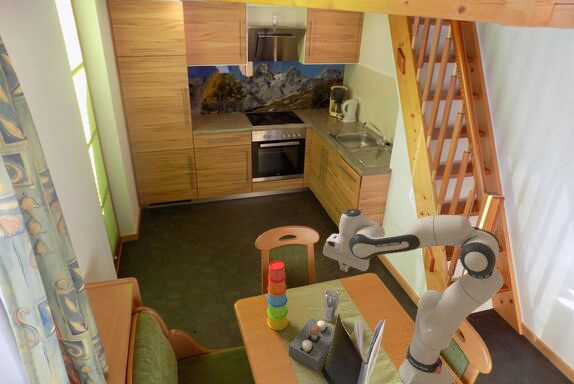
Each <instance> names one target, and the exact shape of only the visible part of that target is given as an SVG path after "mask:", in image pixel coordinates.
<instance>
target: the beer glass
mask: <svg viewBox="0 0 574 384" xmlns="http://www.w3.org/2000/svg"><path fill="white" fill-rule="evenodd" d="M324 293H325V295H324V298H323V300H324V301H323V303H324V304H323V306H324V312H323V315H322V318H323V319H324V321H326V322H328V323H331V322H332V321H333V322H334V321H335V320H336V312H337V309H338V306H339V303H340V293H339V291H337V290H336V289H328V290H326V291H325V292H324Z"/></svg>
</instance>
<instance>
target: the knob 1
mask: <svg viewBox="0 0 574 384" xmlns="http://www.w3.org/2000/svg"><path fill="white" fill-rule="evenodd" d="M302 348H303V352H305V353H307V354H310V350H311V348H312V342H311V341H310V340H304V341H303V344H302Z"/></svg>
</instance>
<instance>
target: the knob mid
mask: <svg viewBox="0 0 574 384" xmlns="http://www.w3.org/2000/svg"><path fill="white" fill-rule="evenodd" d="M319 332H320V327H319V326H318V325H312V326H311V329H310V333H311V340H312V341H316V340H317V337H318V334H319Z"/></svg>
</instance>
